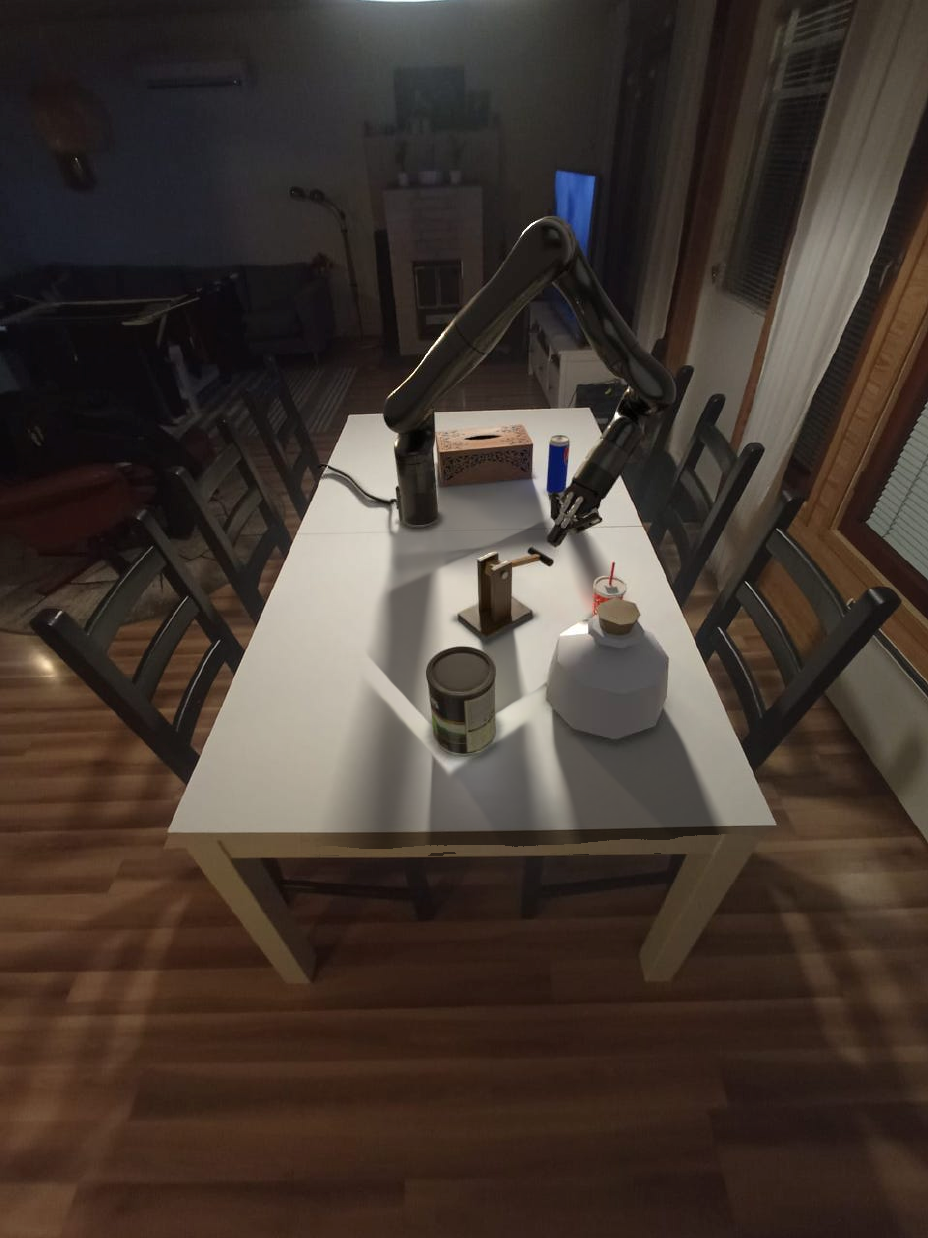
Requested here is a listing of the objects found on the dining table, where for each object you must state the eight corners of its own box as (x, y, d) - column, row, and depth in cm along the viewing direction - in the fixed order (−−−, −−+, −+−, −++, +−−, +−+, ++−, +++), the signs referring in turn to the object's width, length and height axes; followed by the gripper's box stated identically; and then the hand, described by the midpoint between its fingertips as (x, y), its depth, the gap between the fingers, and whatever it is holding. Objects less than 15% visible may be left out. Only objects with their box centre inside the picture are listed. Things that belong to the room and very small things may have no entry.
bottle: (671, 751, 86) (699, 664, 74) (542, 737, 89) (549, 650, 77) (659, 661, 101) (681, 576, 89) (550, 651, 104) (556, 568, 92)
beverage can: (564, 497, 149) (569, 442, 140) (545, 495, 150) (548, 442, 141) (566, 488, 153) (570, 434, 144) (547, 487, 154) (550, 434, 144)
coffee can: (434, 760, 86) (426, 699, 77) (431, 709, 94) (424, 648, 85) (500, 754, 87) (500, 692, 78) (492, 704, 95) (491, 642, 86)
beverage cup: (601, 635, 107) (611, 576, 98) (582, 618, 111) (589, 559, 102) (626, 625, 109) (638, 566, 100) (606, 608, 113) (616, 549, 104)
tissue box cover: (521, 456, 170) (522, 424, 164) (531, 477, 159) (533, 443, 152) (437, 464, 168) (435, 431, 162) (441, 485, 157) (439, 451, 151)
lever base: (503, 595, 118) (503, 539, 109) (532, 616, 112) (535, 558, 103) (457, 618, 112) (454, 561, 104) (485, 641, 107) (484, 583, 98)
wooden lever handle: (531, 554, 114) (534, 544, 113) (552, 567, 110) (554, 556, 109) (478, 568, 106) (479, 557, 105) (498, 582, 102) (500, 571, 101)
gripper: (567, 449, 110) (519, 524, 113) (619, 471, 102) (566, 552, 104) (584, 467, 116) (537, 538, 118) (634, 489, 108) (583, 565, 110)
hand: (551, 544), depth 111 cm, fingers closed
